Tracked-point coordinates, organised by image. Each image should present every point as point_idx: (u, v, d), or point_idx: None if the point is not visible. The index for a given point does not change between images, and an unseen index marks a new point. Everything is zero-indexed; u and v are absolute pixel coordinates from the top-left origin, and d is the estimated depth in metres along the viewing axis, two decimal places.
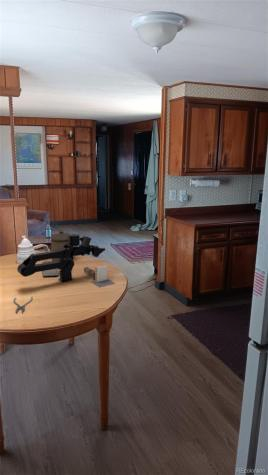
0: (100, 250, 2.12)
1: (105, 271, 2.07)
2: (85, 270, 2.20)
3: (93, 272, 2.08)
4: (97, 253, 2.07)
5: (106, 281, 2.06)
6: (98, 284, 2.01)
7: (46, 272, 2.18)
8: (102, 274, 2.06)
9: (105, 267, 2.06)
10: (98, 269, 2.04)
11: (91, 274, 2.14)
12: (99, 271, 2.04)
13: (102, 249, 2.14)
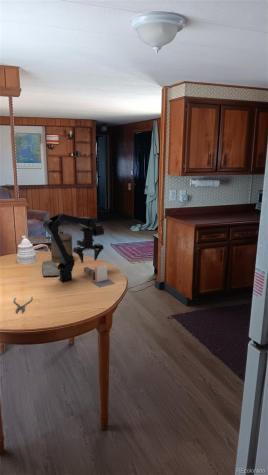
0: None
1: (105, 271, 2.07)
2: (85, 270, 2.20)
3: (93, 272, 2.08)
4: None
5: (106, 281, 2.06)
6: (98, 284, 2.01)
7: (46, 272, 2.18)
8: (102, 274, 2.06)
9: (105, 267, 2.06)
10: (98, 269, 2.04)
11: (91, 274, 2.14)
12: (99, 271, 2.04)
13: None
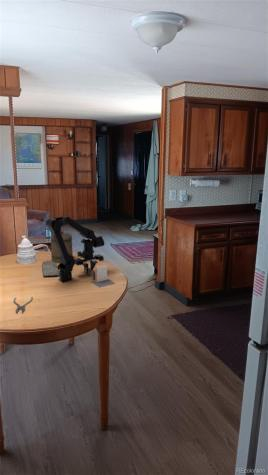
0: None
1: (105, 271, 2.07)
2: (85, 270, 2.20)
3: (93, 272, 2.08)
4: None
5: (106, 281, 2.06)
6: (98, 284, 2.01)
7: (46, 272, 2.18)
8: (102, 274, 2.06)
9: (105, 267, 2.06)
10: (98, 269, 2.04)
11: (91, 274, 2.14)
12: (99, 271, 2.04)
13: None
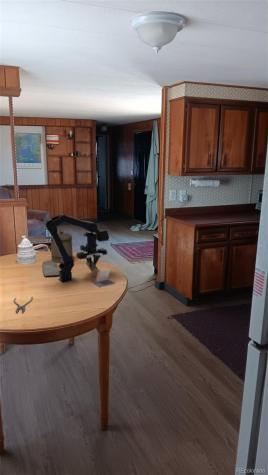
0: None
1: (107, 273, 2.05)
2: None
3: (96, 274, 2.06)
4: None
5: (106, 281, 2.06)
6: (98, 284, 2.01)
7: (47, 272, 2.18)
8: (104, 276, 2.05)
9: (108, 270, 2.04)
10: (101, 272, 2.01)
11: (93, 271, 2.12)
12: (102, 274, 2.02)
13: None
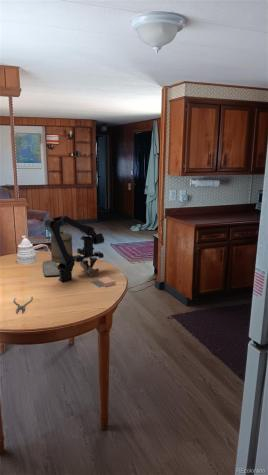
0: None
1: None
2: (81, 263, 2.23)
3: (89, 270, 2.12)
4: None
5: None
6: (98, 284, 2.01)
7: (47, 272, 2.18)
8: None
9: None
10: None
11: (87, 270, 2.18)
12: None
13: None
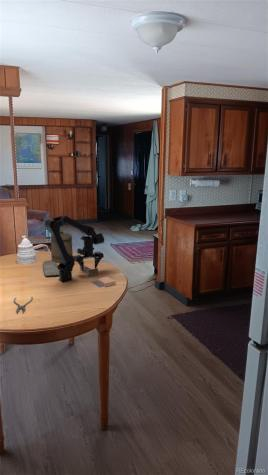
0: None
1: None
2: None
3: (89, 270, 2.13)
4: None
5: None
6: (98, 284, 2.01)
7: (48, 272, 2.18)
8: None
9: None
10: None
11: (87, 272, 2.19)
12: None
13: None
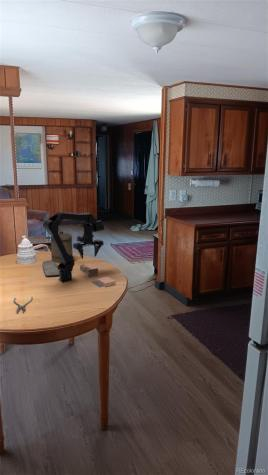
0: None
1: None
2: (81, 268, 2.25)
3: (89, 270, 2.13)
4: None
5: None
6: (98, 284, 2.01)
7: (48, 272, 2.18)
8: None
9: None
10: None
11: (87, 272, 2.19)
12: None
13: None
